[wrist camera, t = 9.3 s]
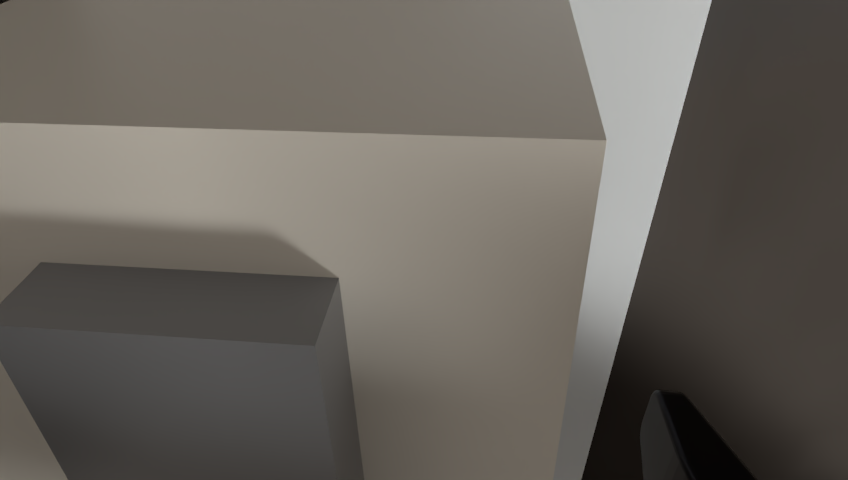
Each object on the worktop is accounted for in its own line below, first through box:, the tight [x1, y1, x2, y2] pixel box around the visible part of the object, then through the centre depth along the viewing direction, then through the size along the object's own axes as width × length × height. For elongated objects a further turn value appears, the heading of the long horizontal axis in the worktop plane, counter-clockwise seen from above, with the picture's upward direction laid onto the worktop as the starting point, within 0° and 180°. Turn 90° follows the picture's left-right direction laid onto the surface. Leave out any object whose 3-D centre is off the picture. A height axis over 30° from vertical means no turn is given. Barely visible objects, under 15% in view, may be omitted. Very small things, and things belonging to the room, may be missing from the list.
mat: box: [553, 0, 712, 480], centre depth 12 cm, size 9×18×1 cm, turn 179°
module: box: [0, 0, 607, 480], centre depth 9 cm, size 5×12×7 cm, turn 1°
